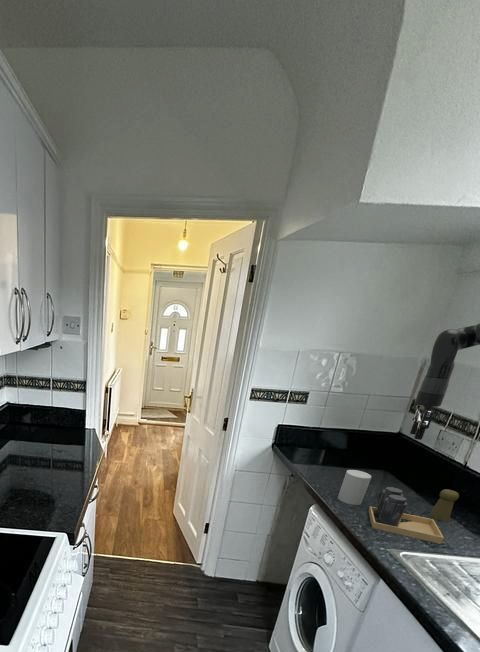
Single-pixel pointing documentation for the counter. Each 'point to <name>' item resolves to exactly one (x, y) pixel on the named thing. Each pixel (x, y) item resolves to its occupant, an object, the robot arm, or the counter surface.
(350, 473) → the white upright cylinder
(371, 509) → the tray
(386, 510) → the shaker
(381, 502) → the shaker
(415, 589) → the counter surface
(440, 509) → the cork
